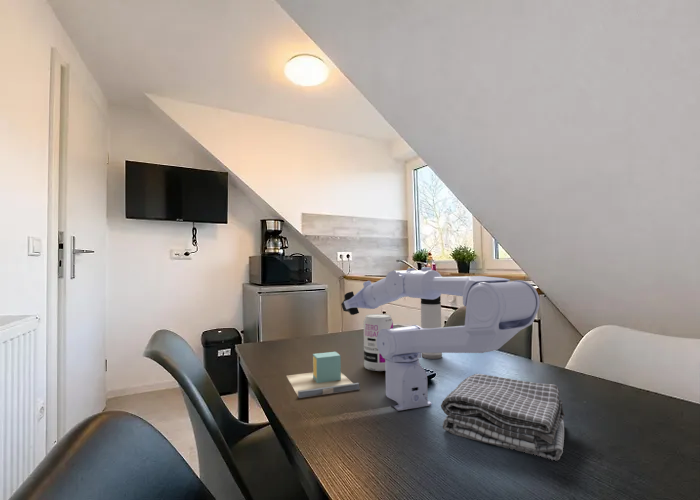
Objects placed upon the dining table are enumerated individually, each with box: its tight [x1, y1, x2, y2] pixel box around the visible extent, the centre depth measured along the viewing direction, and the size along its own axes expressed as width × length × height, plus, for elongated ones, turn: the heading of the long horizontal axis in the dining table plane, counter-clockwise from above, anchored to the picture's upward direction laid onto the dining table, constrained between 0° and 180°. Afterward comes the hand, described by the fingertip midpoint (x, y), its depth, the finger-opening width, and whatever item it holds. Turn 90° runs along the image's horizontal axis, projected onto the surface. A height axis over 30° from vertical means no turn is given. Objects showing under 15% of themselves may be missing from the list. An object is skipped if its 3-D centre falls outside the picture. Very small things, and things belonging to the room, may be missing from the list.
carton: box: [312, 351, 342, 383], centre depth 87 cm, size 4×6×6 cm, turn 110°
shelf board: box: [286, 371, 361, 399], centre depth 85 cm, size 16×14×2 cm
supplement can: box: [363, 313, 394, 372], centre depth 98 cm, size 8×8×15 cm
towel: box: [440, 373, 566, 462], centre depth 62 cm, size 15×18×8 cm
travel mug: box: [420, 294, 443, 360], centre depth 110 cm, size 6×7×20 cm
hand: (355, 303), depth 95 cm, fingers open, 7 cm apart
